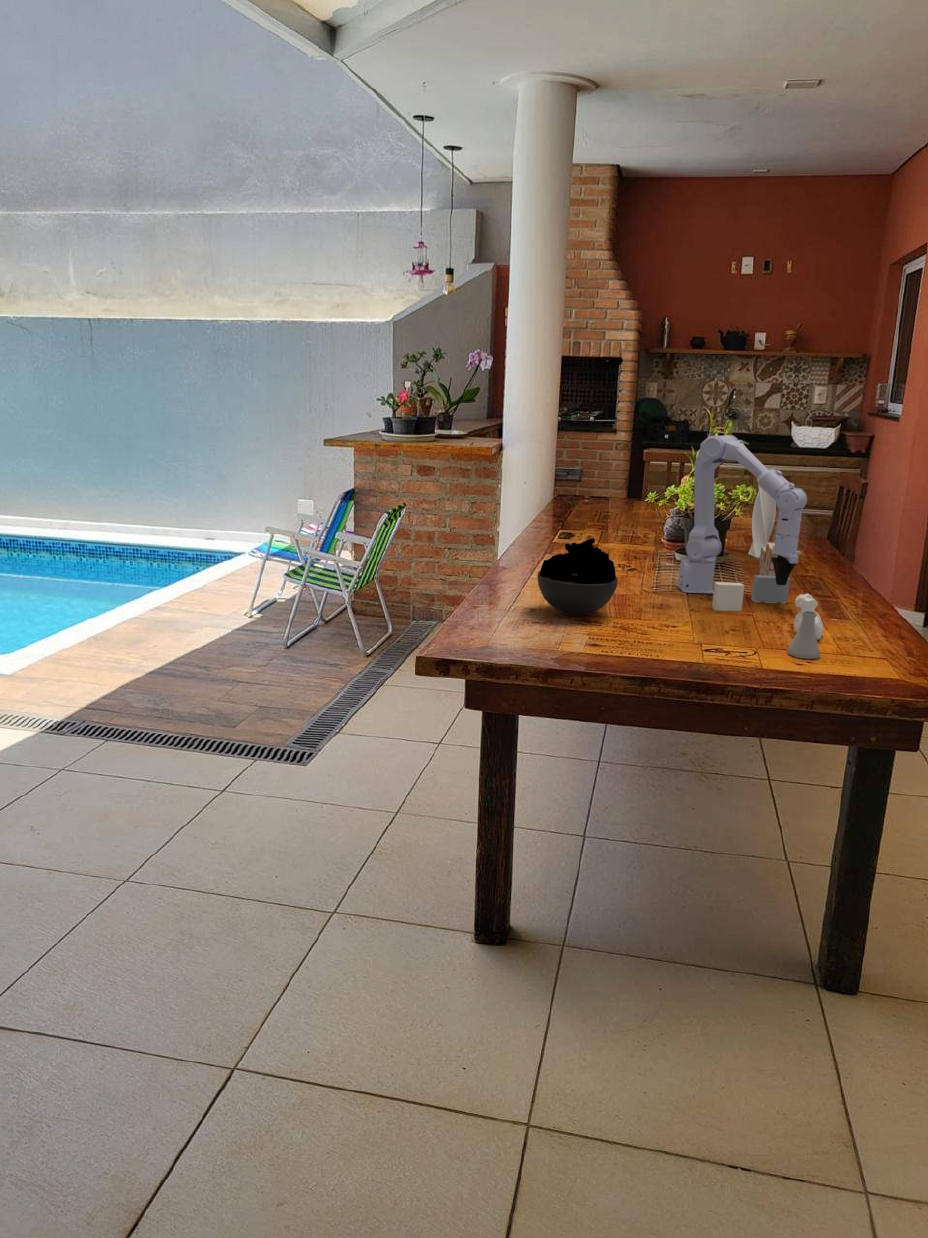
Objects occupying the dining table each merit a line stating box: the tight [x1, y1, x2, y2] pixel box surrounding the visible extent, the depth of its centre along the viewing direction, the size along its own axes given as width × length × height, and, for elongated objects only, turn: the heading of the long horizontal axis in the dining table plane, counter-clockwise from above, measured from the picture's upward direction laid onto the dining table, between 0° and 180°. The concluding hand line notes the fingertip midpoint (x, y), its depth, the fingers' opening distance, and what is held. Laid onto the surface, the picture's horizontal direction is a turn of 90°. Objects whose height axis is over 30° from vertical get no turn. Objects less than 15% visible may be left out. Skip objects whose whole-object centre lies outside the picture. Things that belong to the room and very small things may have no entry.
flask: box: [786, 611, 821, 660], centre depth 209 cm, size 7×7×10 cm
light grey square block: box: [711, 581, 745, 612], centre depth 248 cm, size 7×3×7 cm, turn 91°
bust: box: [793, 593, 825, 640], centre depth 225 cm, size 12×8×11 cm
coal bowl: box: [537, 537, 619, 617], centre depth 233 cm, size 20×20×19 cm
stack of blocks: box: [758, 541, 791, 578], centre depth 282 cm, size 21×6×12 cm, turn 169°
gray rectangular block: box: [750, 574, 791, 604], centre depth 258 cm, size 9×3×7 cm, turn 91°
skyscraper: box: [747, 477, 778, 560], centre depth 322 cm, size 8×8×28 cm
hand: (780, 584), depth 251 cm, fingers closed
